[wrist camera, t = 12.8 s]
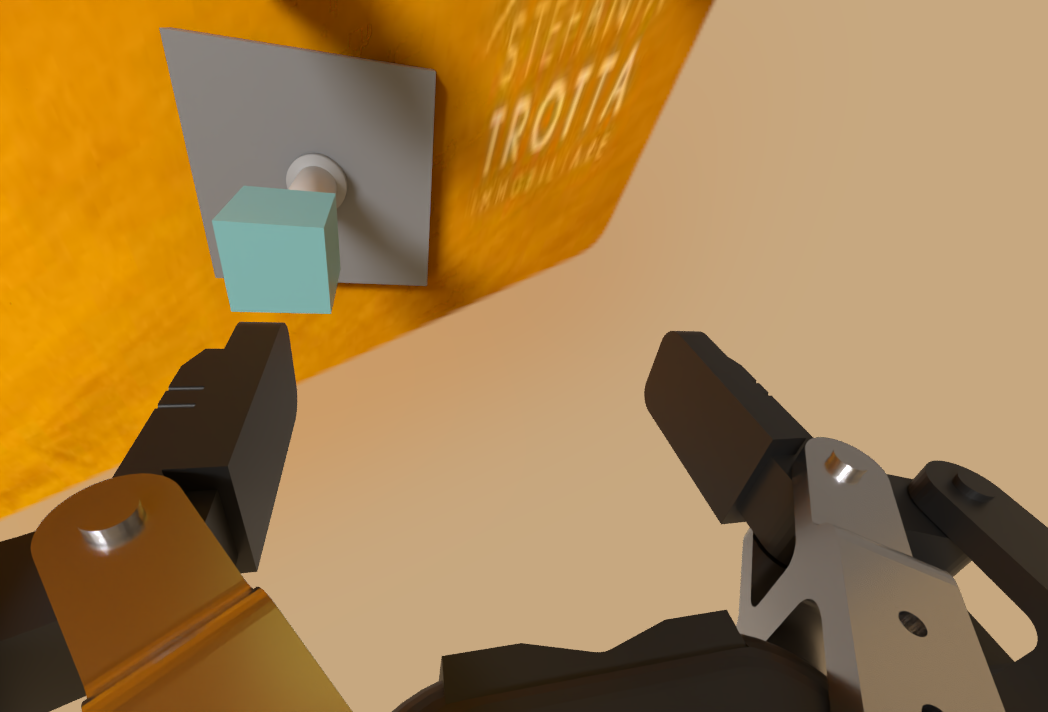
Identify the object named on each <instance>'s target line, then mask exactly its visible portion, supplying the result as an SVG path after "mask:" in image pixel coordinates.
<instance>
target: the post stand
mask: <svg viewBox="0 0 1048 712" xmlns="http://www.w3.org/2000/svg"><path fill="white" fill-rule="evenodd" d="M159 29H160V33H161V38H162V42H163V47H164V51H165V55H166V60H167V64H168V69H169V73H170V77H171V82H172V86H173V91H174V95H175V100H176V104H177V108H178V113H179V117H180V122H181V126H182V131H183V135H184V139H185V144H186V148H187V153H188V157H189V162H190V166H191V170H192V175H193V179H194V184H195V188H196V193H197V197H198V201H199V206H200V210H201V215H202V219H203V224H204V228H205V232H206V237H207V241H208V246H209V250H210V255H211V259H212V263H213V268H214V272H215V277H216V278H224V275H223V270H222V265H221V261H220V256H219V252H218V247H217V242H216V238H215V233H214V228H213V224H212V220H213V219H214V217H215V216H216V215H217V214H218V213H219V212H220V211H221V210H222V209H223V208H224V207H225V205H226V204H227V203H228V202H229V201H230V200H231V199H232V198H233V197H234V196H235V195H236V193H237V192H238V191H239V190H240V189H241V188H242V187H243V186H254V187H266V188H277V189H289V190H300V191H312V192H324V193H335V194H336V207H337V222H338V237H339V252H340V267H341V270H340V275H339V279H338V283H363V284H389V285H414V286H427V274H428V251H429V227H430V203H431V180H432V156H433V132H434V109H435V85H436V71H435V70H434V69H428V68H421V67H415V66H409V65H403V64H396V63H390V62H384V61H378V60H371V59H365V58H359V57H352V56H346V55H340V54H334V53H327V52H321V51H315V50H309V49H302V48H296V47H290V46H283V45H277V44H271V43H265V42H258V41H252V40H246V39H240V38H233V37H227V36H221V35H214V34H208V33H202V32H196V31H189V30H183V29H177V28H159Z"/></svg>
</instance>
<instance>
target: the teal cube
mask: <svg viewBox="0 0 1048 712" xmlns="http://www.w3.org/2000/svg"><path fill="white" fill-rule="evenodd" d="M212 224H213V228H214V233H215V238H216V242H217V247H218V252H219V256H220V261H221V265H222V270H223V275H224V279H225V284H226V289H227V293H228V298H229V303H230V307H231V311H232V312H275V313H319V314H331V311H332V307H333V302H334V298H335V293H336V288H337V284H338V279H339V275H340V270H341V267H340V252H339V237H338V222H337V207H336V194H335V193H324V192H312V191H300V190H289V189H277V188H266V187H254V186H243V187H242V188H241V189H240V190H239V191H238V192H237V193H236V195H235V196H234V197H233V198H232V199H231V200H230V201H229V202H228V203H227V204H226V205H225V207H224V208H223V209H222V210H221V211H220V212H219V213H218V214H217V215H216V216H215V217H214V219H213V220H212Z"/></svg>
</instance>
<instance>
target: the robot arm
mask: <svg viewBox="0 0 1048 712" xmlns="http://www.w3.org/2000/svg"><path fill="white" fill-rule="evenodd" d="M644 393H645V403H646V406H647V409H648V411H649V412H650V414H651V415H652V417H653V419H654V420H655V422H656V423H657V425H658V426H659V428H660V430H661V431H662V433H663V434H664V436H665V437H666V439H667V440H668V442H669V444H670V445H671V447H672V448H673V450H674V451H675V453H676V454H677V456H678V458H679V459H680V461H681V462H682V464H683V465H684V467H685V468H686V470H687V472H688V473H689V475H690V476H691V478H692V479H693V481H694V482H695V484H696V486H697V487H698V489H699V490H700V492H701V493H702V495H703V496H704V498H705V500H706V501H707V502H708V504H709V506H710V507H711V509H712V511H713V512H714V514H715V515H716V517H717V518H718V520H719V521H720V523H721V524H728V523H738V522H747V524H748V525H749V526H750V528H749V530H748V531H747V533H746V534H745V536H744V540H743V552H742V553H743V554H742V570H741V587H740V604H739V617H738V622H737V626H735V624H734V622H733V620H732V619H731V617H730V615H729V613H728V611H727V610H722V611H716V612H710V613H704V614H698V615H692V616H686V617H680V618H673V619H667V620H664V621H662V622H660V623H658V624H657V625H655V626H653V627H651V628H649V629H647V630H646V631H644V632H642V633H640V634H638V635H637V636H635V637H633V638H631V639H629V640H627V641H625V642H624V643H622V644H620V645H618V646H616V647H615V648H613V649H611V650H608V651H606V652H588V651H580V650H571V649H564V648H555V647H548V646H539V645H530V644H523V643H520V644H514V645H508V646H502V647H495V648H489V649H484V650H478V651H471V652H465V653H459V654H452V655H446V656H442V659H441V667H440V676H439V681H438V682H436V683H434V684H432V685H430V686H429V687H427V688H424V689H423V690H421V691H419V692H418V693H416V694H415V695H413V696H412V697H410V698H409V699H407V700H406V701H404V702H403V703H402V704H400V705H399V706H398V707H397V708H396V709H394V710H393V711H392V712H1048V528H1047V527H1046V526H1045V525H1044V524H1043V523H1041V522H1040V521H1039V520H1038V519H1036V518H1035V517H1034V516H1033V515H1032V514H1030V513H1029V512H1028V511H1027V510H1025V509H1024V508H1023V507H1022V506H1020V505H1019V504H1018V503H1017V502H1016V501H1014V500H1013V499H1012V498H1011V497H1010V496H1008V495H1007V494H1006V493H1005V492H1003V491H1002V490H1001V489H1000V488H998V487H997V486H996V485H994V484H993V483H991V482H990V481H989V480H987V479H985V478H984V477H982V476H980V475H979V474H977V473H975V472H973V471H971V470H969V469H967V468H964V467H961V466H959V465H956V464H953V463H949V462H945V461H932V462H929V463H928V464H926V466H925V467H924V468H923V469H922V470H921V471H920V472H919V473H918V475H917V476H916V477H915V478H914V479H908V478H903V477H899V476H894V475H888V474H886V473H885V471H884V470H883V469H882V468H881V467H880V466H879V465H878V464H877V463H876V462H875V461H874V460H873V459H871V458H870V457H869V456H868V455H866V454H865V453H863V452H862V451H860V450H858V449H857V448H855V447H853V446H851V445H848V444H846V443H844V442H842V441H838V440H835V439H831V438H825V437H816V438H813V437H812V436H811V435H810V434H809V433H808V432H807V431H806V430H805V429H804V428H803V427H802V426H801V425H800V424H799V423H798V422H797V421H796V420H795V419H794V418H793V417H792V416H791V415H790V414H789V413H788V412H787V411H786V410H785V409H784V408H783V407H782V406H781V405H780V404H779V403H778V402H777V401H776V400H775V399H774V398H773V397H772V396H768V392H767V391H766V390H765V389H764V388H763V387H762V386H761V385H760V384H759V383H756V380H755V379H754V378H753V377H752V376H751V375H750V374H749V373H748V372H747V371H746V370H745V369H744V368H743V367H742V366H741V365H740V364H738V363H737V362H735V361H734V360H732V359H730V358H729V357H727V356H726V355H725V354H724V353H723V352H722V351H721V350H720V349H719V348H718V346H716V344H715V343H714V342H712V340H710V338H709V337H708V336H707V335H706V334H704V333H703V332H694V331H670V332H668V333H667V334H666V335H665V336H664V337H663V339H662V342H661V344H660V347H659V350H658V352H657V355H656V358H655V361H654V363H653V366H652V369H651V371H650V374H649V377H648V379H647V382H646V386H645V392H644ZM296 412H297V388H296V381H295V374H294V367H293V360H292V353H291V346H290V339H289V333H288V328H287V326H286V324H285V323H270V322H239V323H238V324H237V326H236V327H235V329H234V331H233V333H232V335H231V337H230V339H229V341H228V343H227V345H226V346H225V348H224V349H205V350H203V351H202V352H200V353H199V354H198V355H196V356H195V357H193V358H192V359H191V360H189V361H188V362H186V363H185V364H184V365H182V366H181V368H180V369H179V371H178V372H177V374H176V376H175V377H174V379H173V380H172V382H171V384H170V385H169V391H166V392H165V393H164V395H163V397H162V398H161V400H160V401H159V403H158V409H154V411H153V413H152V414H151V416H150V418H149V419H148V421H147V422H146V424H145V426H144V427H143V429H142V430H141V432H140V434H139V435H138V437H137V439H136V440H135V442H134V443H133V445H132V447H131V448H130V450H129V451H128V453H127V455H126V456H125V458H124V460H123V461H122V463H121V464H120V466H119V468H118V469H117V471H116V472H115V474H114V476H113V477H112V478H111V479H107V480H104V481H101V482H99V483H96V484H93V485H91V486H89V487H87V488H85V489H83V490H81V491H79V492H77V493H76V494H74V495H72V496H70V497H69V498H67V499H66V500H64V501H63V502H62V503H60V504H59V505H58V506H57V507H55V508H54V509H53V510H52V511H51V512H50V513H49V514H48V515H47V516H46V517H45V518H44V519H43V520H42V522H41V523H40V525H39V526H38V528H37V529H36V531H35V532H31V533H28V534H25V535H22V536H19V537H16V538H12V539H9V540H5V541H2V542H0V712H49V711H52V710H54V709H56V708H58V707H61V706H63V705H65V704H68V703H70V702H72V701H75V700H77V699H80V698H82V697H84V696H87V699H86V700H85V701H83V702H82V705H81V709H82V712H353V711H352V710H351V709H350V707H349V706H348V704H346V702H345V700H344V699H343V698H342V696H341V695H340V693H339V692H338V691H337V689H336V688H335V686H334V685H333V684H332V682H331V681H330V680H329V678H328V677H327V675H326V674H325V673H324V671H323V670H322V668H321V667H320V666H319V664H318V663H317V661H316V660H315V659H314V657H313V656H312V654H311V653H310V652H309V650H308V649H307V647H306V646H305V645H304V643H303V642H302V640H301V639H300V638H299V636H298V635H297V634H296V632H295V631H294V629H293V628H292V627H291V625H290V624H289V622H288V621H287V620H286V618H285V617H284V615H283V614H282V613H281V611H280V610H279V609H278V607H277V606H276V604H275V603H274V602H273V601H272V599H271V598H270V597H269V596H268V594H267V593H266V592H265V591H264V590H263V589H261V588H260V587H256V588H254V589H253V588H251V587H250V585H249V584H248V583H247V582H246V580H245V579H244V578H243V576H242V575H241V573H248V572H257V570H258V566H259V562H260V558H261V554H262V550H263V546H264V542H265V538H266V534H267V530H268V526H269V522H270V518H271V514H272V510H273V506H274V502H275V498H276V494H277V491H278V486H279V483H280V478H281V475H282V470H283V467H284V462H285V459H286V455H287V451H288V447H289V443H290V439H291V435H292V431H293V427H294V423H295V419H296ZM971 561H973V562H974V563H975V564H976V565H977V566H978V567H979V568H980V569H981V570H982V571H983V572H984V573H985V574H986V575H987V576H988V577H989V578H990V579H991V580H992V581H993V582H994V583H995V584H996V585H997V586H998V587H999V588H1000V589H1001V590H1002V591H1003V592H1004V593H1005V594H1006V595H1007V596H1008V597H1009V598H1010V599H1011V600H1012V601H1013V602H1015V604H1016V605H1017V606H1018V607H1019V608H1020V609H1021V610H1022V611H1023V612H1024V613H1025V614H1026V615H1027V616H1028V617H1029V618H1030V620H1031V621H1032V623H1033V625H1034V626H1035V629H1036V631H1037V636H1038V642H1037V646H1036V647H1035V649H1034V650H1033V651H1031V652H1030V653H1028V654H1027V655H1025V656H1024V657H1022V658H1021V659H1019V660H1017V661H1016V662H1014V661H1013V660H1012V659H1011V658H1010V657H1009V655H1008V654H1007V653H1006V652H1005V651H1004V650H1003V649H1002V648H1001V647H1000V646H999V645H998V643H996V641H995V640H994V639H993V638H992V637H991V636H990V635H989V634H988V632H987V631H986V630H985V629H984V628H983V627H982V626H981V625H980V624H979V623H978V622H977V620H976V619H975V618H974V617H973V616H972V615H971V614H970V613H969V612H968V611H967V609H966V606H965V603H964V601H963V598H962V595H961V593H960V590H959V588H958V585H957V583H956V581H955V580H954V578H953V576H955V575H956V574H957V573H958V572H959V571H960V570H961V569H963V568H964V567H965V566H966V565H967V564H968V563H970V562H971Z"/></svg>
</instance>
